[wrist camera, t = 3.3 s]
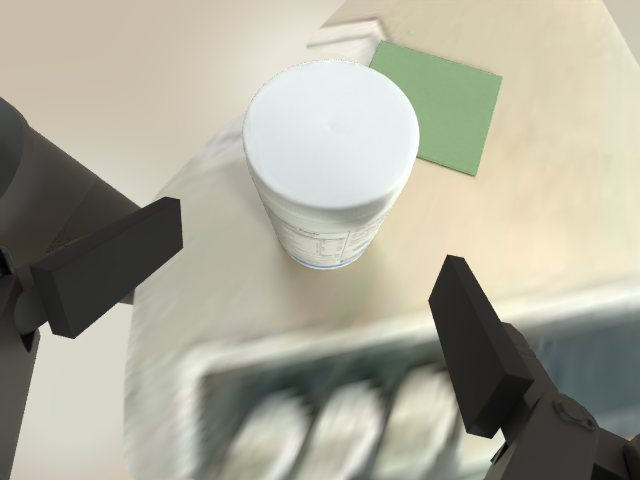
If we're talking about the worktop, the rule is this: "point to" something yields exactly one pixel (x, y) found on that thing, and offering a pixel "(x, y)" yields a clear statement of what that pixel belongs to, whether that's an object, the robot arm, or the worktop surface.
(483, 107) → the mat
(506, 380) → the robot arm
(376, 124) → the supplement tub
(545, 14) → the worktop surface
